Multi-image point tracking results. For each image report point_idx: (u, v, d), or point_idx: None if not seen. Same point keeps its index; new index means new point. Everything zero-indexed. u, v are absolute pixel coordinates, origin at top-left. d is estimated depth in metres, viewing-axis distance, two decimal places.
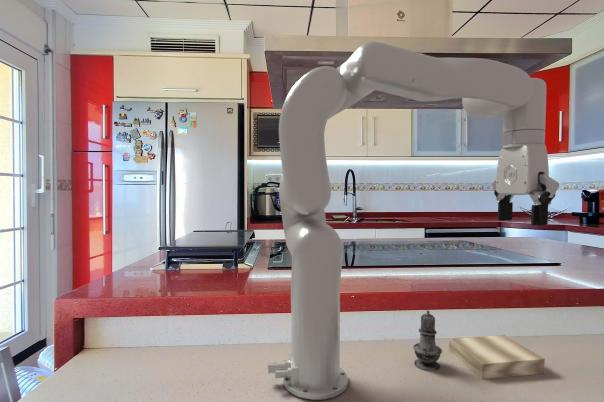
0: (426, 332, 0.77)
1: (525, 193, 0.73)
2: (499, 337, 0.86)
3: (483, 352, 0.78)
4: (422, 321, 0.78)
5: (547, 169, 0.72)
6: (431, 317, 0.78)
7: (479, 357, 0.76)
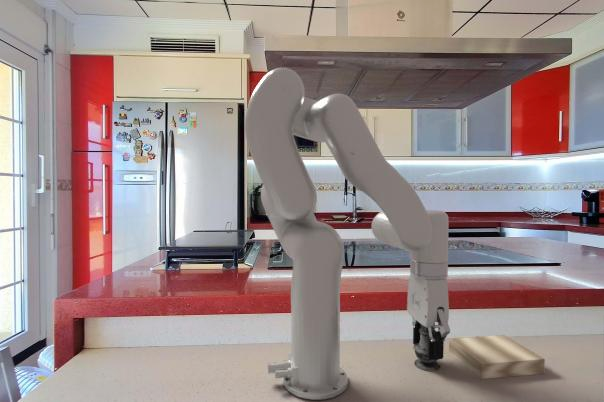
0: (426, 332, 0.77)
1: (426, 326, 0.74)
2: (499, 337, 0.86)
3: (483, 352, 0.78)
4: None
5: (447, 303, 0.74)
6: None
7: (479, 357, 0.76)
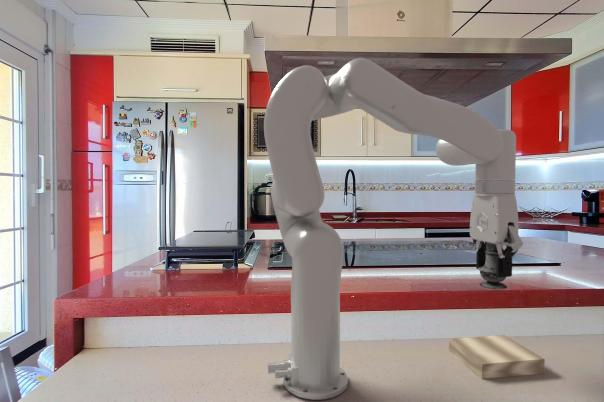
0: (493, 252, 0.78)
1: (495, 243, 0.74)
2: (499, 337, 0.86)
3: (483, 352, 0.78)
4: None
5: (517, 219, 0.74)
6: None
7: (479, 357, 0.76)
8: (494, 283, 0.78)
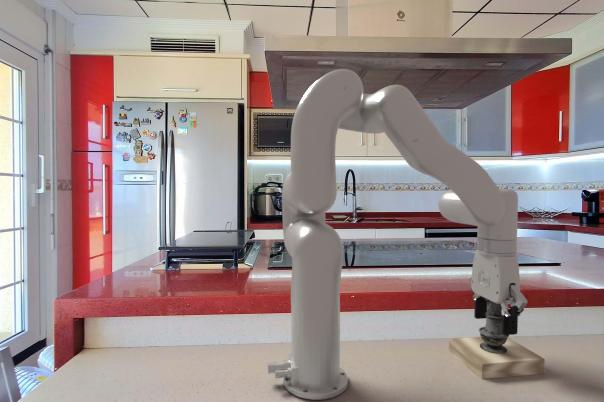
0: (494, 316, 0.78)
1: (497, 302, 0.75)
2: None
3: (483, 352, 0.78)
4: (489, 305, 0.79)
5: (518, 279, 0.75)
6: None
7: (479, 357, 0.76)
8: (494, 346, 0.79)
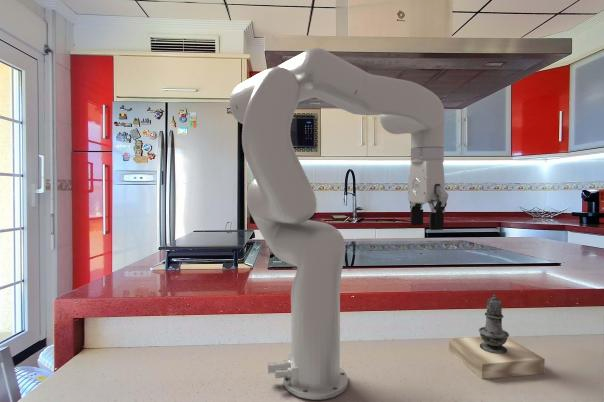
0: (494, 316, 0.78)
1: (424, 202, 0.84)
2: None
3: (483, 352, 0.78)
4: (489, 305, 0.79)
5: (443, 181, 0.84)
6: (498, 301, 0.79)
7: (479, 357, 0.76)
8: (494, 346, 0.79)
